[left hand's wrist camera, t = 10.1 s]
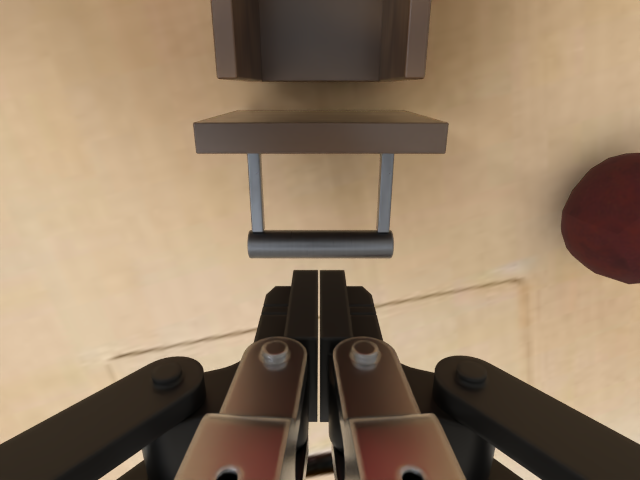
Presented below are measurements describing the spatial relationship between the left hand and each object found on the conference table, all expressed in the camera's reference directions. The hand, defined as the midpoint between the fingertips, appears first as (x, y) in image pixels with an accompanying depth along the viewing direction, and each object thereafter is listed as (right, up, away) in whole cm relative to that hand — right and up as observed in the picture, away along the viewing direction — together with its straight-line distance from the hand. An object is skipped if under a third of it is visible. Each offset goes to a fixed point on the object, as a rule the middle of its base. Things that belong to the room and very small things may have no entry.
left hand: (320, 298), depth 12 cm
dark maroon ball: (+18, +4, +15) cm, 24 cm away
